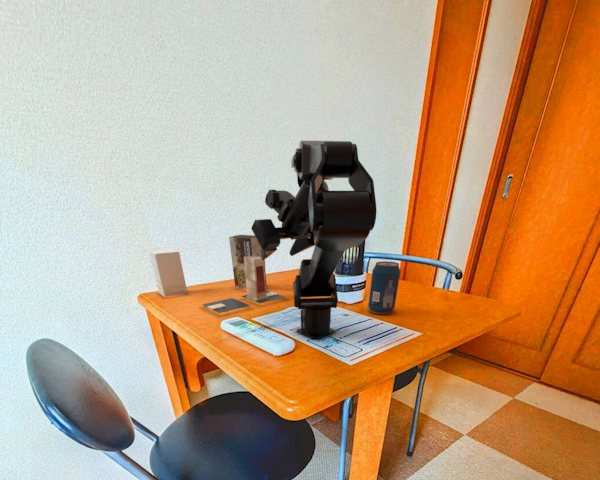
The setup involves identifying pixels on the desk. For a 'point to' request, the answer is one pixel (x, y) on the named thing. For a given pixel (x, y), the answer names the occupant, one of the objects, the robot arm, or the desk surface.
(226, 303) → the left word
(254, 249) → the coffee box
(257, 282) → the beige and red box
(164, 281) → the white packaging box
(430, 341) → the desk surface
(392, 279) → the soda can
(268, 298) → the grey flat square block
